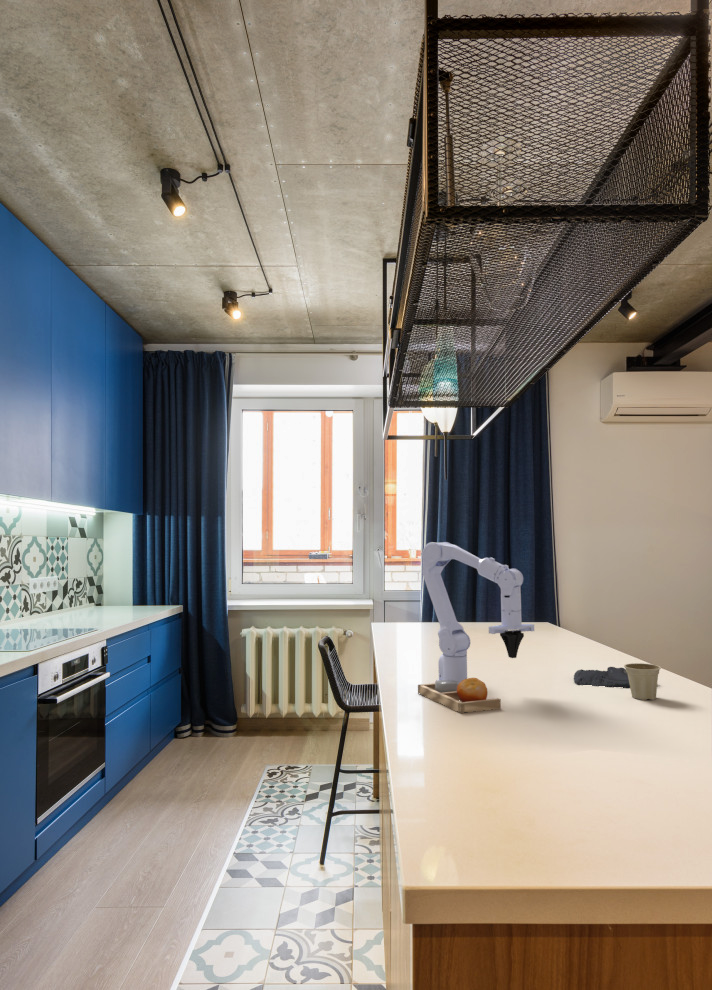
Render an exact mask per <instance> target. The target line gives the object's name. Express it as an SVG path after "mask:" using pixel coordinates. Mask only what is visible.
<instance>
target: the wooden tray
mask: <svg viewBox="0 0 712 990" xmlns="http://www.w3.org/2000/svg"><path fill="white" fill-rule="evenodd" d="M419 693H420V694H419ZM417 694H419V695H421V694H422V695H421V696H423V695H424V696H423V697H425V696H426V697H425V698H427V697H428V698H427V699H429V698H430V699H429V700H431V699H432V700H431V701H433V700H434V702H435V703H438V702H439V703H438V704H440V703H441V704H440V705H442V704H443V705H442V706H444V705H445V706H444V707H446V706H447V707H446V708H448V707H449V709H450V708H451V709H450V710H453V711H455V712H457V711H458V712H457V713H459V712H460V713H459V714H465V713H464V712H468V713H474V712H473V711H476V712H482V711H483V710H485V711H492V710H491V709H493V710H500V709H499V708H501V709H502V706H501V704H502V702H501V701H502V700H501V699H500V698H489V699H488V698H486V700H478V701H469V702H462V701H459V700H460V698H459V696H458V694H457V691H454V692H444V693H440V692H438V691H435V682H434V683H421V684H418V685H417ZM483 712H484V711H483Z"/></svg>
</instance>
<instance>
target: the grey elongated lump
mask: <svg viewBox="0 0 712 990" xmlns="http://www.w3.org/2000/svg"><path fill="white" fill-rule="evenodd" d="M573 681H574V682H573V683H574V684H576V685H577V686H583V685H592V686H591V687H599V686H605V687H604V688H614V687H623V688H622V689H629V688H630V683H629V678H628V673H627V672H626V668H625V667H616V666H608V667H607V669H606V670H598V669H586V670H584V669H578V670H576V671H575V673H574V675H573Z"/></svg>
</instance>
